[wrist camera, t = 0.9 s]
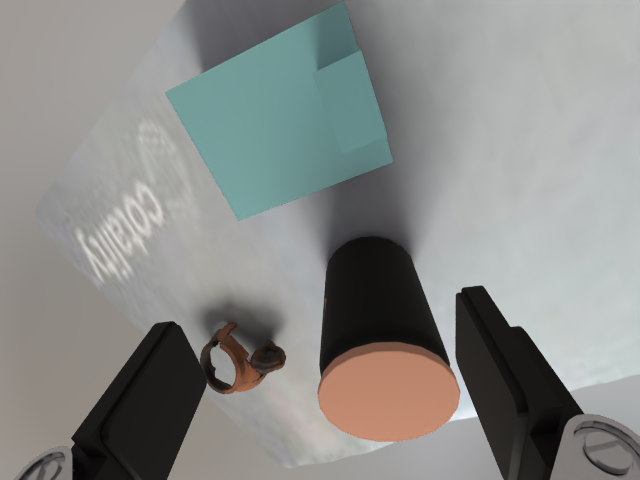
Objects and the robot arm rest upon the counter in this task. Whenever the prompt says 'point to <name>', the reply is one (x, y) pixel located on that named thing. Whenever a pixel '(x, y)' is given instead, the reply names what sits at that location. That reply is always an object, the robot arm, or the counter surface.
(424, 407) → the coffee jar
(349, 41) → the teal platform with post
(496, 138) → the counter surface
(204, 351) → the brown looped piece
